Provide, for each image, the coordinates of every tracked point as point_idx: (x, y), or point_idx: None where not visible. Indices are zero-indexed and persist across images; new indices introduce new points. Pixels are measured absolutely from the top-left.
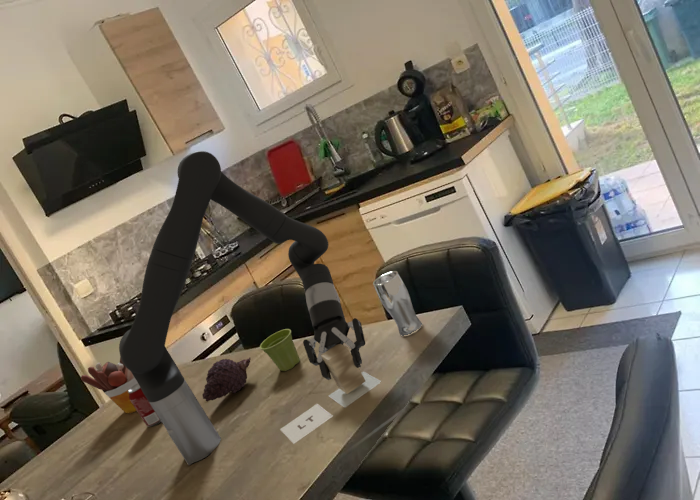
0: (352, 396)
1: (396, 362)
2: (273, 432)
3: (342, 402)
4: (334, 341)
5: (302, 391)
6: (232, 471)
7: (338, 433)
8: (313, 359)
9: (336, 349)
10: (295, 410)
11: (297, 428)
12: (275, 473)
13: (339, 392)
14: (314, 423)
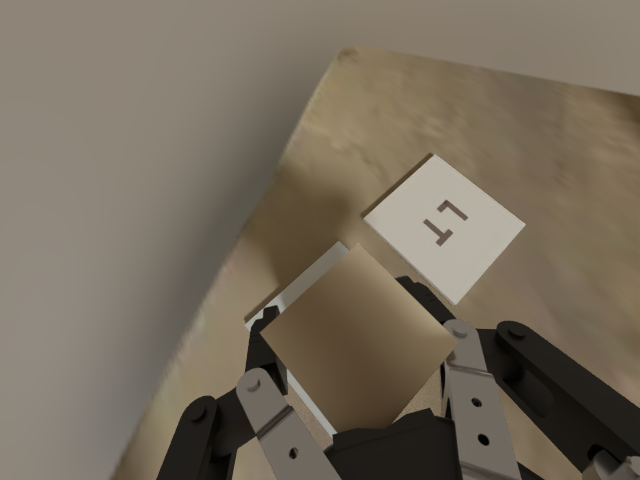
0: None
1: None
2: (546, 229)
3: None
4: (377, 445)
5: None
6: (567, 127)
7: (325, 159)
8: (506, 335)
9: (344, 353)
10: (535, 312)
11: (460, 207)
12: (433, 94)
13: None
14: (412, 208)
